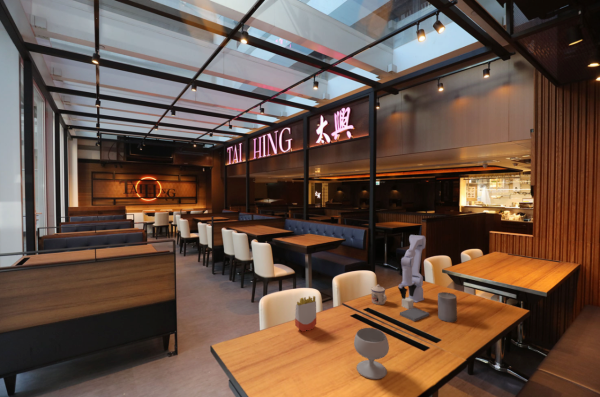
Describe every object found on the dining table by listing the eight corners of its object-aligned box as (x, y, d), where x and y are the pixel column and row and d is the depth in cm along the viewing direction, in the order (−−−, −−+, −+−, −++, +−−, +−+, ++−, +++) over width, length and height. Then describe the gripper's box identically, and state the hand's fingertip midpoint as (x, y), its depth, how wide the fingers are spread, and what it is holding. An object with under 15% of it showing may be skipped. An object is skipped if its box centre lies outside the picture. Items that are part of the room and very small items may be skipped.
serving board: (414, 309, 172) (414, 307, 172) (429, 315, 163) (429, 313, 163) (399, 315, 165) (399, 312, 165) (414, 321, 156) (414, 319, 156)
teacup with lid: (368, 301, 186) (368, 284, 186) (378, 298, 190) (378, 282, 190) (380, 307, 176) (380, 289, 175) (391, 305, 179) (391, 287, 179)
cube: (406, 304, 180) (406, 297, 180) (413, 307, 175) (413, 299, 175) (401, 306, 177) (401, 298, 177) (408, 309, 173) (408, 301, 173)
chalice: (382, 359, 122) (382, 325, 121) (394, 381, 108) (394, 343, 107) (351, 360, 121) (350, 326, 121) (358, 382, 107) (358, 344, 107)
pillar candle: (452, 315, 164) (451, 290, 163) (460, 322, 154) (459, 296, 154) (435, 314, 165) (434, 289, 164) (442, 322, 155) (441, 295, 155)
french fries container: (295, 329, 149) (294, 296, 149) (312, 324, 154) (311, 293, 154) (298, 333, 145) (298, 299, 145) (316, 328, 150) (316, 295, 150)
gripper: (409, 272, 183) (409, 293, 183) (394, 276, 175) (394, 297, 176) (418, 275, 177) (418, 296, 177) (404, 279, 169) (404, 301, 170)
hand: (407, 297), depth 176 cm, fingers open, 7 cm apart
